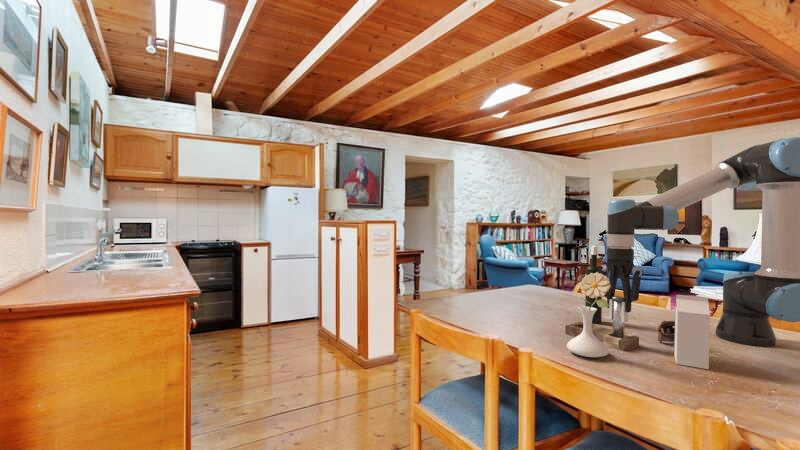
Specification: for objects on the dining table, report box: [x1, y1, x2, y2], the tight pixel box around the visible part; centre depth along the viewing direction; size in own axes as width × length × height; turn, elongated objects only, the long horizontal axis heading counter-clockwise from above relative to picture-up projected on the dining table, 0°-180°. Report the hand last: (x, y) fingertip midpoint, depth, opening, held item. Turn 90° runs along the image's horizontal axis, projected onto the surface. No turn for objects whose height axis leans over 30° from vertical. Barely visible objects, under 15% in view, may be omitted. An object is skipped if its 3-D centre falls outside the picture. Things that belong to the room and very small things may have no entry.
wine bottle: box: [584, 245, 603, 325], centre depth 149 cm, size 6×6×30 cm
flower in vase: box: [566, 272, 611, 358], centre depth 113 cm, size 13×11×25 cm
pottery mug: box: [657, 320, 675, 344], centre depth 126 cm, size 12×10×8 cm
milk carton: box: [673, 294, 711, 370], centre depth 107 cm, size 7×7×19 cm
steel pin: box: [612, 295, 625, 338], centre depth 122 cm, size 4×4×13 cm
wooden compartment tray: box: [564, 321, 640, 352], centre depth 128 cm, size 20×9×3 cm, turn 32°
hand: (618, 320), depth 122 cm, fingers closed on steel pin, 3 cm apart
